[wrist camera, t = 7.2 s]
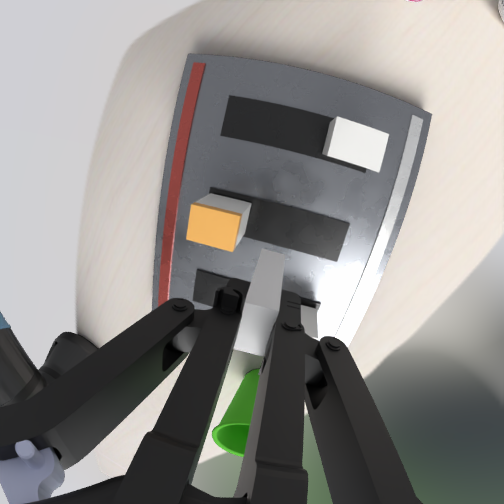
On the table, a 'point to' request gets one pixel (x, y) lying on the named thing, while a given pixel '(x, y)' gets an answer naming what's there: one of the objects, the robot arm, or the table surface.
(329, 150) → the block
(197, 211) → the block
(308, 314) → the block
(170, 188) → the panel
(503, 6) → the white oval ovoid
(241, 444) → the cup
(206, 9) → the table surface
